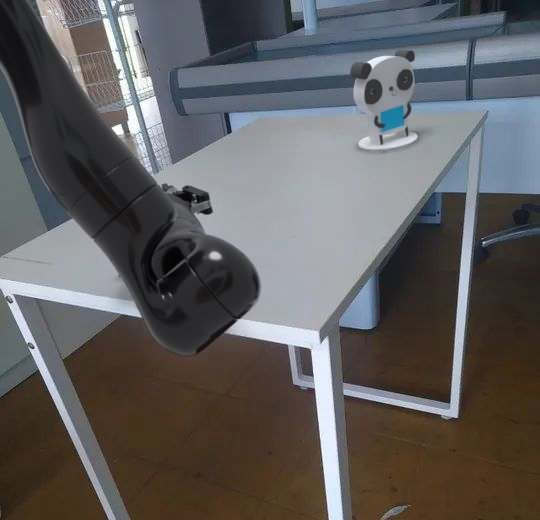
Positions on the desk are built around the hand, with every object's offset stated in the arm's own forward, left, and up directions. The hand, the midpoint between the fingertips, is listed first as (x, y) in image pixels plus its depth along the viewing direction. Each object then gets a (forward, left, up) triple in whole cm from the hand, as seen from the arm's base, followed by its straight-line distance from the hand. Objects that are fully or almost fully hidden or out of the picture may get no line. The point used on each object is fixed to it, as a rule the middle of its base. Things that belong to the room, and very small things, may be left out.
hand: (146, 196), depth 74 cm
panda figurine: (+53, -13, -9) cm, 56 cm away
